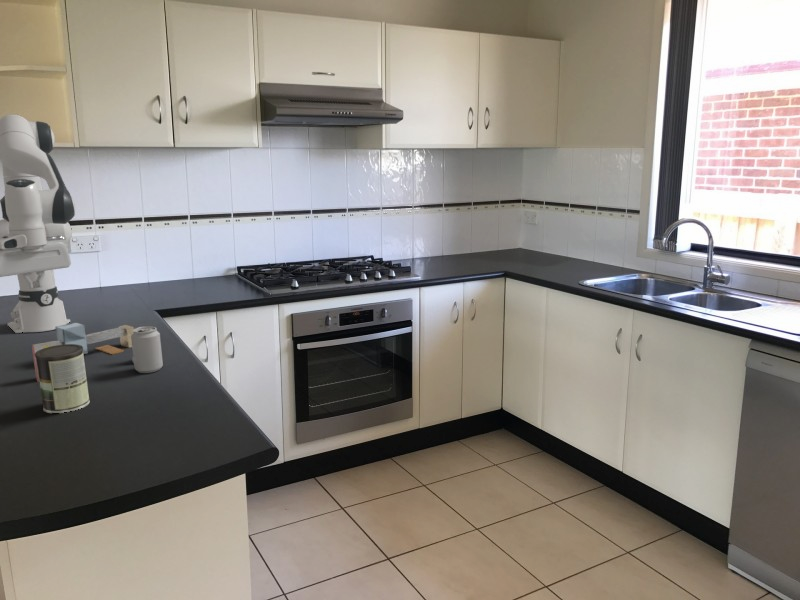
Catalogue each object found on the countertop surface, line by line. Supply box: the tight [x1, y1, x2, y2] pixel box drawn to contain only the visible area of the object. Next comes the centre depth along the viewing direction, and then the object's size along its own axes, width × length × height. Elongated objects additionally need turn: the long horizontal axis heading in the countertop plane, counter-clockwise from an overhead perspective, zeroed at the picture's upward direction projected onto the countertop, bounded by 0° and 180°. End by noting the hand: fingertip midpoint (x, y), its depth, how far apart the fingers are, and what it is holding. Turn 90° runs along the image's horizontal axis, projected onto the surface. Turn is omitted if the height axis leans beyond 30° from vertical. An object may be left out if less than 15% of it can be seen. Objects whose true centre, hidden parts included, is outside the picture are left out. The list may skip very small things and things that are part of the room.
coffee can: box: [35, 344, 91, 414], centre depth 159 cm, size 10×10×14 cm
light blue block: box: [55, 322, 88, 355], centre depth 197 cm, size 5×6×9 cm
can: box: [131, 326, 164, 374], centre depth 185 cm, size 8×8×12 cm
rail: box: [45, 324, 135, 355], centre depth 202 cm, size 10×25×6 cm, turn 141°
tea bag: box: [31, 340, 60, 383], centre depth 180 cm, size 4×7×10 cm, turn 122°
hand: (35, 287), depth 187 cm, fingers closed
